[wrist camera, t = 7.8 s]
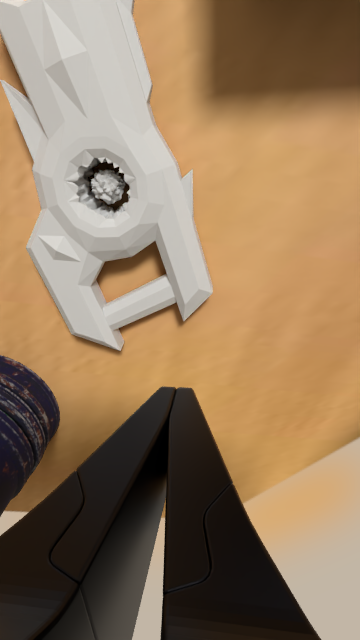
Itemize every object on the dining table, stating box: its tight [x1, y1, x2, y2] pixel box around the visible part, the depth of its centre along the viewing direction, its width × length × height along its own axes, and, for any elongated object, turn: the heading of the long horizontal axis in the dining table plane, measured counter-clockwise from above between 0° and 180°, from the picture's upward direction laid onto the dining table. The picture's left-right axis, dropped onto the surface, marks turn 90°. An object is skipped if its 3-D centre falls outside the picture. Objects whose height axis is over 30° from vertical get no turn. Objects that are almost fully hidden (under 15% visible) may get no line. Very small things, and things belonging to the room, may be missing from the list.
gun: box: [0, 0, 213, 351], centre depth 18 cm, size 18×3×10 cm
